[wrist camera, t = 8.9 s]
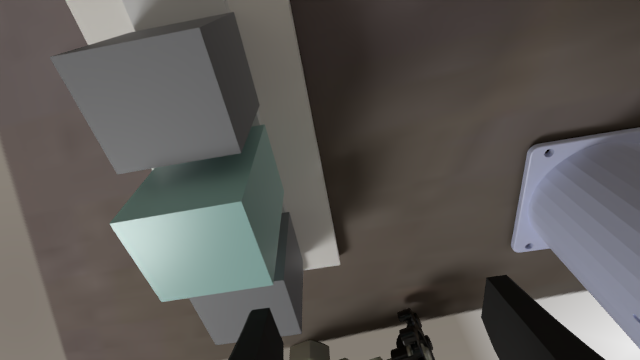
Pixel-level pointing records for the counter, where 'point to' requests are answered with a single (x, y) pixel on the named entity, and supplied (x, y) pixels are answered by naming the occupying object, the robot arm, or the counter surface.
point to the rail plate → (274, 106)
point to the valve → (409, 356)
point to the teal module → (207, 223)
